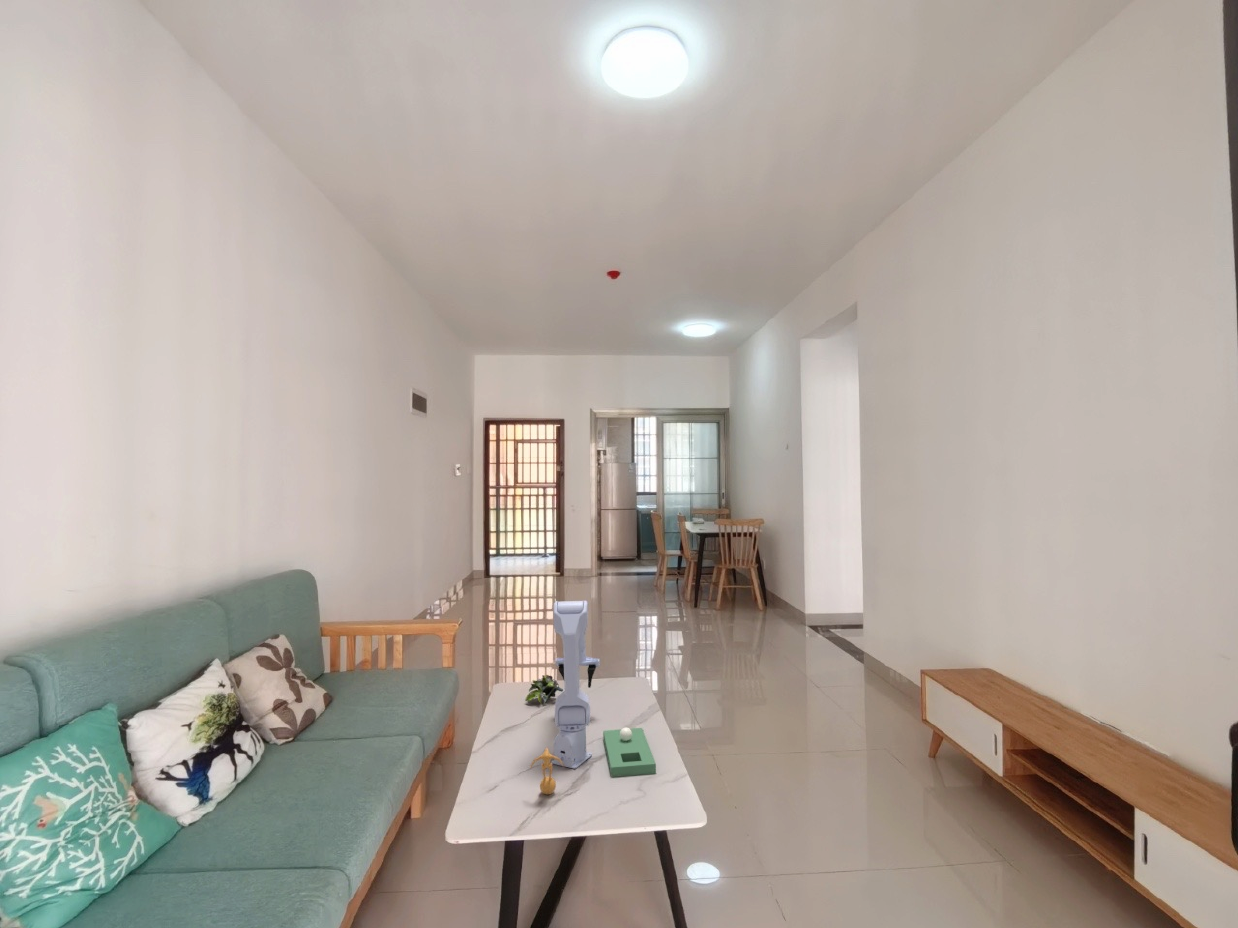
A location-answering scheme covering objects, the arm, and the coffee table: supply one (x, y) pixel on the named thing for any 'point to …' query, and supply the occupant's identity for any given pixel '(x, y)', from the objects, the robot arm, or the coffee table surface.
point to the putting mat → (628, 753)
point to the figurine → (547, 782)
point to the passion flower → (543, 689)
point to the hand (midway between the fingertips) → (578, 686)
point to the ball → (625, 734)
